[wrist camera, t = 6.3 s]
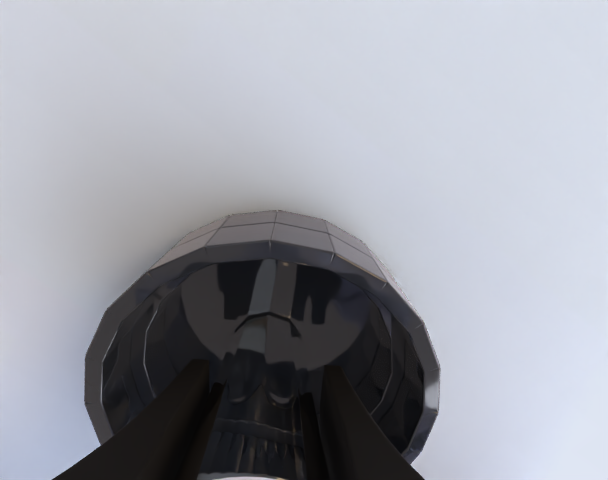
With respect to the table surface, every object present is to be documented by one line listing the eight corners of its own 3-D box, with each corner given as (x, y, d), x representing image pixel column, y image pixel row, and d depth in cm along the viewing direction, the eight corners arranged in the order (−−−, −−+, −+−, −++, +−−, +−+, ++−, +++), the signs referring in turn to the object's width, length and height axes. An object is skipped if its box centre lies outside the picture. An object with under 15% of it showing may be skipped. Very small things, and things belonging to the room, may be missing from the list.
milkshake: (347, 326, 15) (454, 660, 5) (274, 399, 16) (256, 785, 6) (270, 268, 14) (235, 559, 4) (197, 351, 15) (41, 729, 5)
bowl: (361, 444, 18) (382, 541, 14) (136, 411, 17) (81, 506, 12) (435, 240, 14) (496, 285, 10) (154, 180, 13) (85, 202, 9)
